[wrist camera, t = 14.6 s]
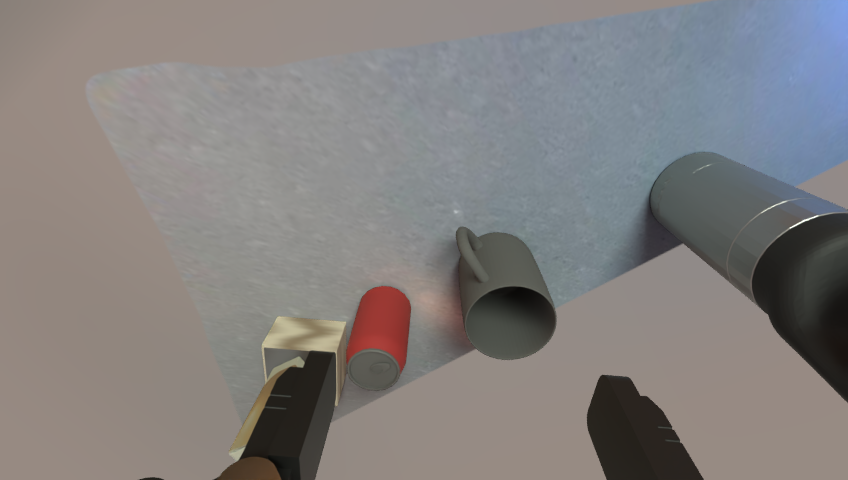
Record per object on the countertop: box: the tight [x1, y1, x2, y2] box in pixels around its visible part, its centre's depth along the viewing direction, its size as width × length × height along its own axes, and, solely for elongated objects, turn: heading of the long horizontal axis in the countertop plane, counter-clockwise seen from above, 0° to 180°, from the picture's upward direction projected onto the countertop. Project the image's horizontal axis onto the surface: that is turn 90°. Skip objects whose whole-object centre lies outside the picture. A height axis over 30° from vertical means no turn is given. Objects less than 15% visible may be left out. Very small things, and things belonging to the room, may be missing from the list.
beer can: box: [346, 286, 411, 391], centre depth 50 cm, size 7×7×12 cm
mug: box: [456, 227, 556, 360], centre depth 46 cm, size 14×9×12 cm
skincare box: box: [228, 357, 305, 462], centre depth 47 cm, size 6×4×12 cm
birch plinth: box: [262, 316, 346, 406], centre depth 56 cm, size 9×9×6 cm
